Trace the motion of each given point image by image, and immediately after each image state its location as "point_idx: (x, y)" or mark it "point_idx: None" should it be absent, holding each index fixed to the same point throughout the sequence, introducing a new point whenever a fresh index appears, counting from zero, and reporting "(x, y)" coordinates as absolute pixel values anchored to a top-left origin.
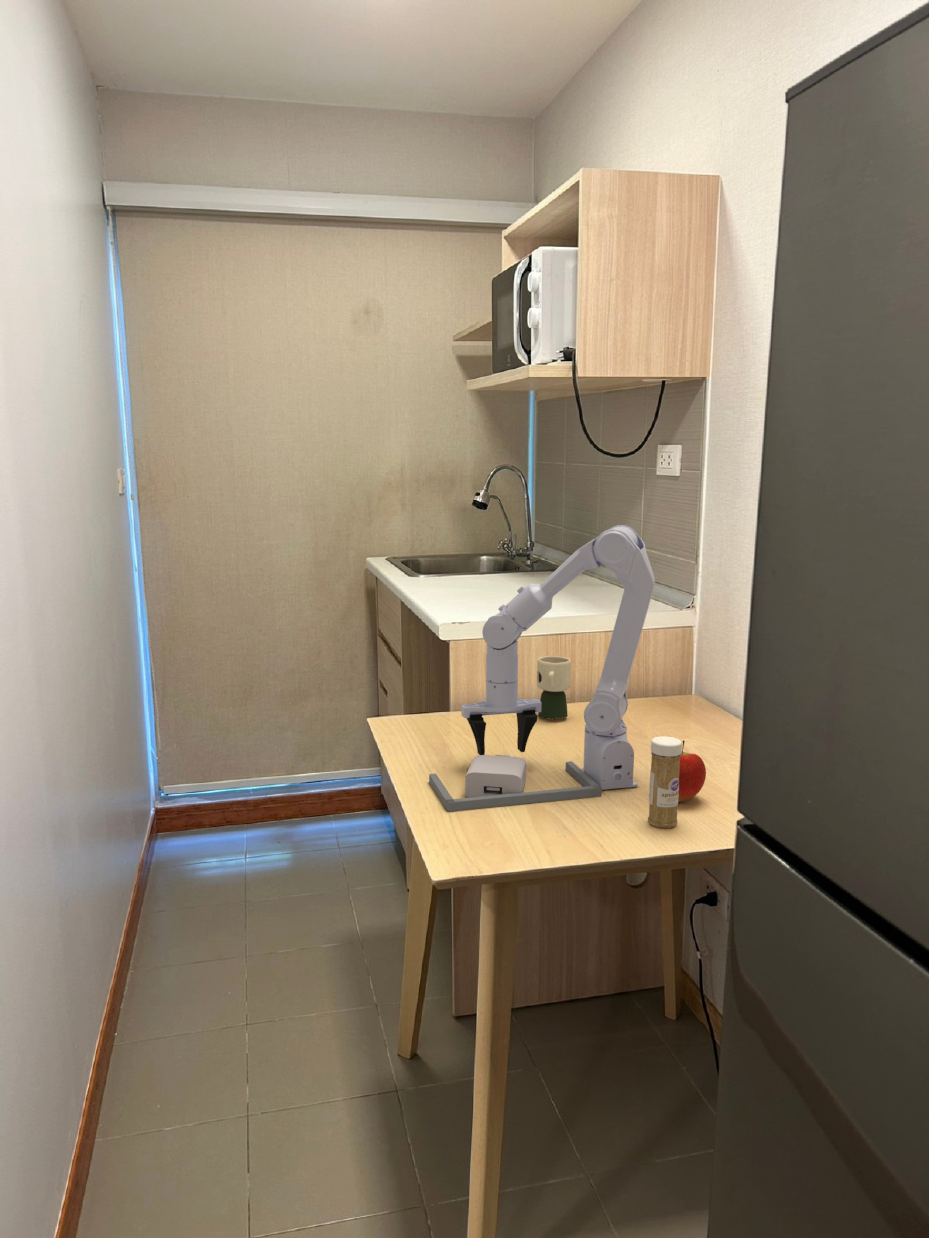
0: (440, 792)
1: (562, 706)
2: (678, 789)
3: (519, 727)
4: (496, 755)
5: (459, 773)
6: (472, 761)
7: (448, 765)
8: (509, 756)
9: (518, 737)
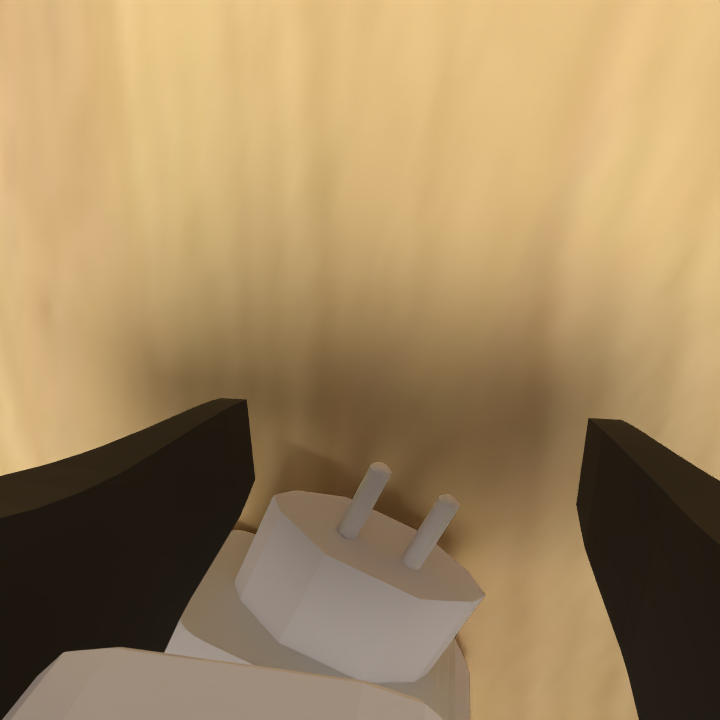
0: None
1: None
2: None
3: (674, 585)
4: (326, 565)
5: (132, 432)
6: None
7: (73, 281)
8: (417, 609)
9: (624, 484)
